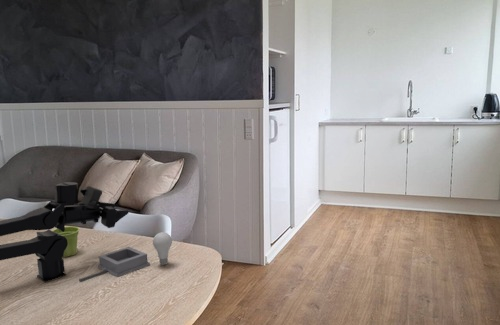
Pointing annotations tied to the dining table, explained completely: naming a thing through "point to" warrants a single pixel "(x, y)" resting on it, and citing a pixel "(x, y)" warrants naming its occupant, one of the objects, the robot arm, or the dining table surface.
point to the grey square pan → (120, 262)
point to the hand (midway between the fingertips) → (121, 208)
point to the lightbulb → (162, 246)
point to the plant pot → (69, 239)
